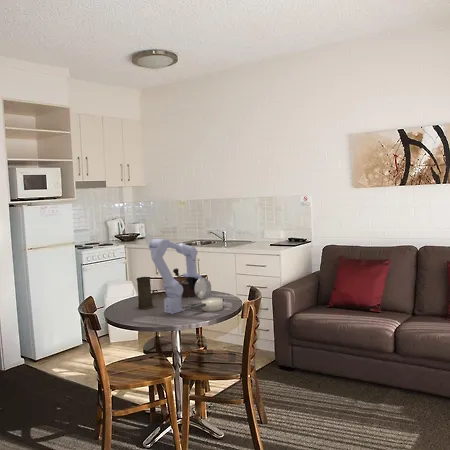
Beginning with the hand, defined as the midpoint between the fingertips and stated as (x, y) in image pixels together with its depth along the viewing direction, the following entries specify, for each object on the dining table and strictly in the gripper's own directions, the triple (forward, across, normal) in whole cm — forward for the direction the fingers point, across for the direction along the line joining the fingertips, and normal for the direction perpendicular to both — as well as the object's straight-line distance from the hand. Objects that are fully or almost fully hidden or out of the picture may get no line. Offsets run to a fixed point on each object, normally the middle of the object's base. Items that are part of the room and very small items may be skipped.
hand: (192, 289), depth 291 cm
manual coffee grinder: (+10, +24, -15) cm, 30 cm away
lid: (-2, -9, 0) cm, 10 cm away
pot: (+9, -16, +3) cm, 19 cm away
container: (+10, +22, +19) cm, 31 cm away
